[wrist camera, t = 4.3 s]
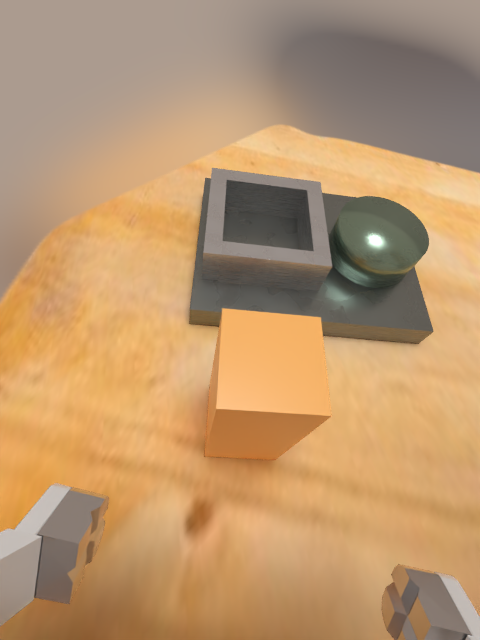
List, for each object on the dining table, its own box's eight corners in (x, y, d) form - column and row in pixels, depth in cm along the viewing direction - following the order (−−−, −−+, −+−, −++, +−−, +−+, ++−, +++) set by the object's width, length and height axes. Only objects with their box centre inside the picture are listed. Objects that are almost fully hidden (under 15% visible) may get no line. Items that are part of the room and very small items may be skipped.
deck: (385, 218, 35) (412, 175, 31) (418, 343, 28) (460, 310, 23) (204, 195, 33) (207, 146, 29) (189, 323, 26) (190, 283, 22)
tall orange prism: (273, 392, 24) (320, 317, 16) (274, 460, 22) (331, 416, 13) (209, 387, 24) (222, 308, 15) (204, 456, 21) (216, 408, 13)
